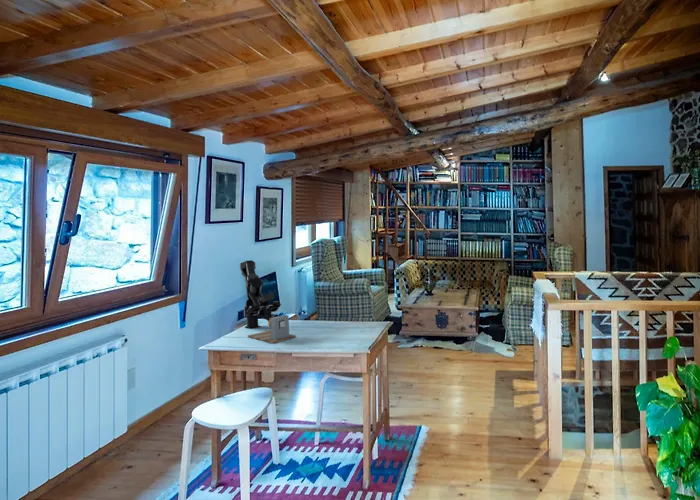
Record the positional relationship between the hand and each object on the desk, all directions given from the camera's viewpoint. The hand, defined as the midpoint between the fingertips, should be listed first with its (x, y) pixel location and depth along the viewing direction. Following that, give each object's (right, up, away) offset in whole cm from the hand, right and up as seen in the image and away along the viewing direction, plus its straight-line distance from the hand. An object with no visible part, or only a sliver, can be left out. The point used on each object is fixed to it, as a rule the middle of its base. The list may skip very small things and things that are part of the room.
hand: (271, 321), depth 253 cm
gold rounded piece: (+3, -3, -3) cm, 5 cm away
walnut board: (0, -8, +1) cm, 8 cm away
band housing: (+5, -7, -3) cm, 10 cm away
